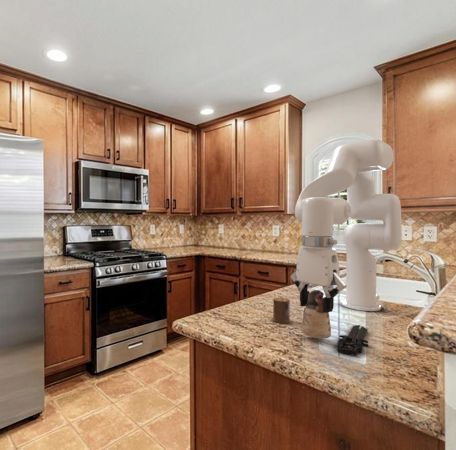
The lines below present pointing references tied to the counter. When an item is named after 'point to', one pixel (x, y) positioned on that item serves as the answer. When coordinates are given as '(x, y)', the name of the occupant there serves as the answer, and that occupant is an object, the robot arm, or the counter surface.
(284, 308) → the glossy brown cylinder
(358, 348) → the dark flat slotted piece
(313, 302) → the figurine
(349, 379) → the counter surface
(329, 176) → the robot arm
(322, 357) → the counter surface
